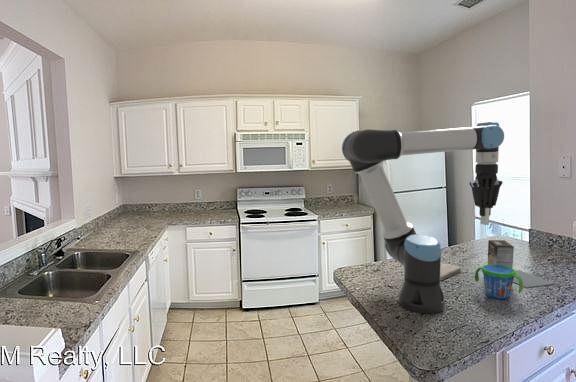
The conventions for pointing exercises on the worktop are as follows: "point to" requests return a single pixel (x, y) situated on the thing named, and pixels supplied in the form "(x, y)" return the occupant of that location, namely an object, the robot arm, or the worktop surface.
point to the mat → (530, 280)
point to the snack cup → (498, 280)
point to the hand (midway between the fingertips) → (484, 224)
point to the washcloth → (448, 270)
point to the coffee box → (500, 253)
